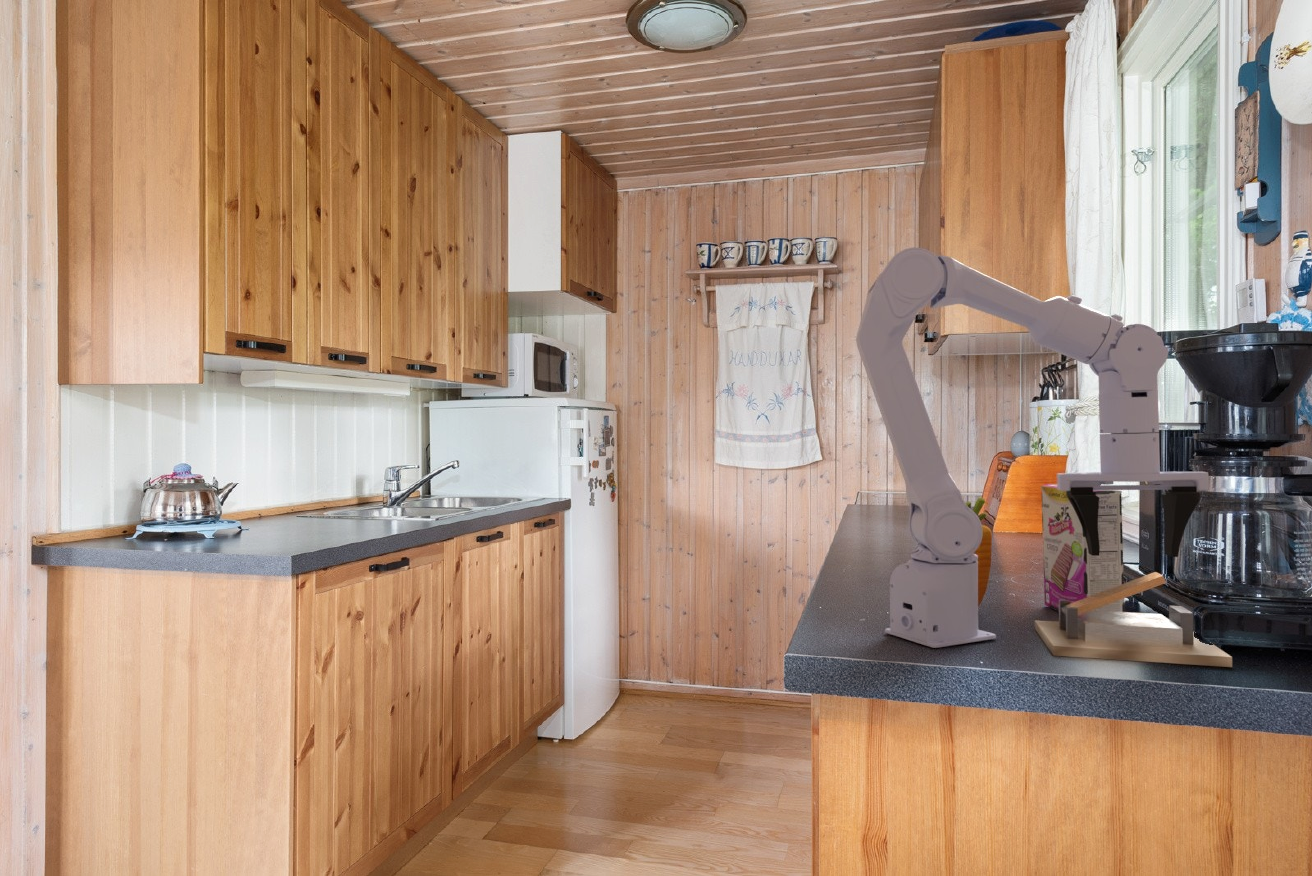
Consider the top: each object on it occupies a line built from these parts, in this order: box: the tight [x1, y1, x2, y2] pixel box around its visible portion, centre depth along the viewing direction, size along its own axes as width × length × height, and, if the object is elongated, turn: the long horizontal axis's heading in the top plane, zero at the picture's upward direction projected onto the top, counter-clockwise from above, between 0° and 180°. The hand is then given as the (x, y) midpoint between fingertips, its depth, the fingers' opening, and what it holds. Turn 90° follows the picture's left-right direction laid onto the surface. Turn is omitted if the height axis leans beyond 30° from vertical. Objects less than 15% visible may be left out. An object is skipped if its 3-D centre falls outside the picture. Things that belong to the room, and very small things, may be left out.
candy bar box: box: [1040, 483, 1125, 612], centre depth 101 cm, size 11×5×16 cm, turn 179°
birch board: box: [1034, 619, 1233, 668], centre depth 86 cm, size 16×12×1 cm
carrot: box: [965, 497, 993, 608], centre depth 104 cm, size 5×5×15 cm
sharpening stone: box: [1058, 599, 1195, 648], centre depth 86 cm, size 12×7×3 cm, turn 73°
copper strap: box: [1061, 571, 1167, 615], centre depth 87 cm, size 10×2×1 cm, turn 73°
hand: (1132, 555), depth 89 cm, fingers open, 7 cm apart
